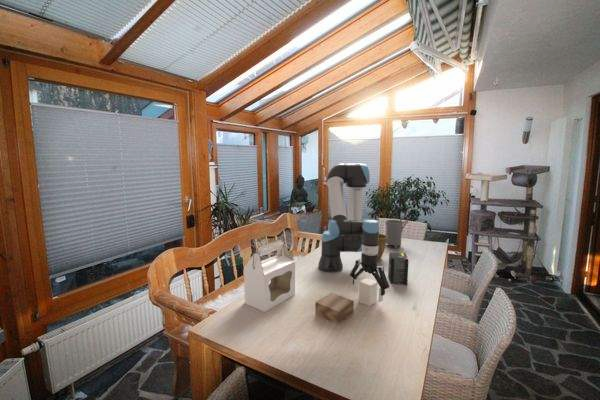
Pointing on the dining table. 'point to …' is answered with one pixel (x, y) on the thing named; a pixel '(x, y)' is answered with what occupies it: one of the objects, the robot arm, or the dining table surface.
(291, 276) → the gable box
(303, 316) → the dining table surface
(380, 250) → the plant pot
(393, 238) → the grey pitcher
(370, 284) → the cream block
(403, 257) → the tampon box
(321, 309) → the walnut block
